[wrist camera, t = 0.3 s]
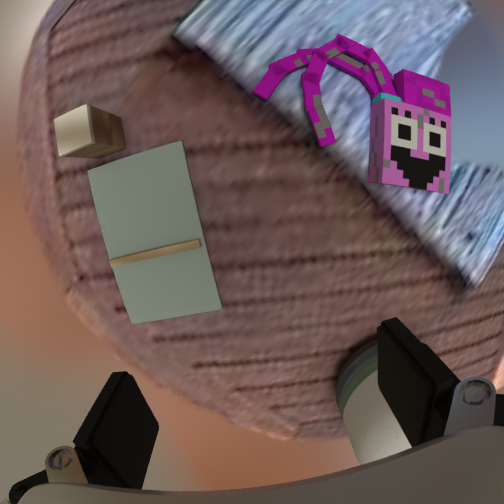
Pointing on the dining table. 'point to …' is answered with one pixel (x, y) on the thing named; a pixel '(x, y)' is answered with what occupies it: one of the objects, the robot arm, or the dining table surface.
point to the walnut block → (89, 133)
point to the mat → (154, 233)
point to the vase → (367, 408)
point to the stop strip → (156, 252)
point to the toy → (380, 113)
